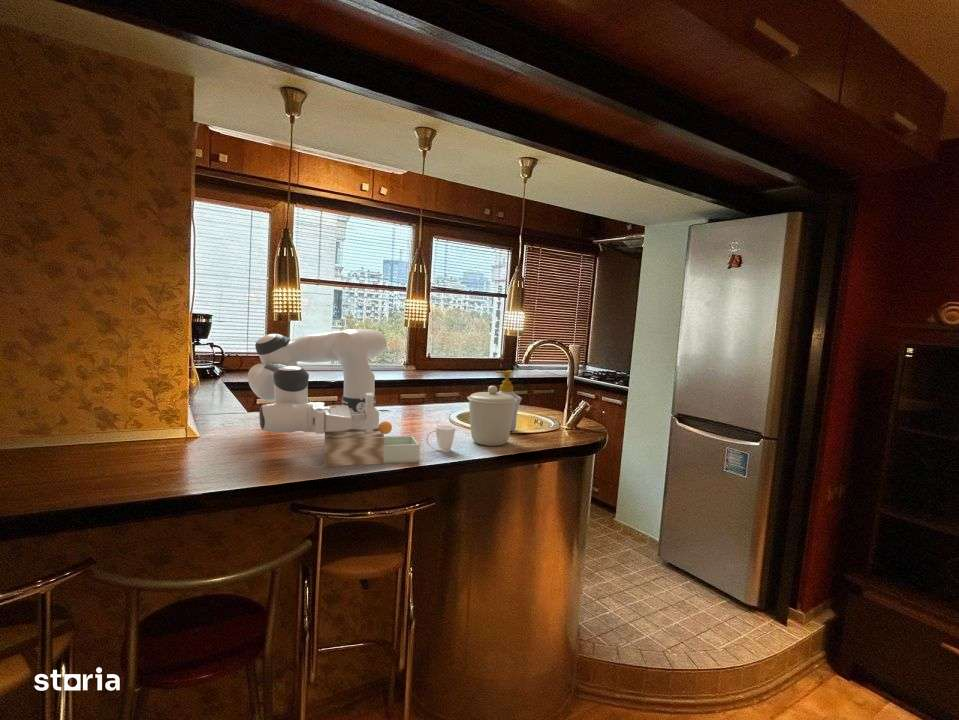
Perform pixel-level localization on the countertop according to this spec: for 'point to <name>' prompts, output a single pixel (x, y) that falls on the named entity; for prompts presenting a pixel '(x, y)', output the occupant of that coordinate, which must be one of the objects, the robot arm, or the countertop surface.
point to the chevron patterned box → (353, 447)
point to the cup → (443, 437)
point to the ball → (385, 427)
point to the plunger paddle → (369, 412)
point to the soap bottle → (508, 389)
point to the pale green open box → (400, 449)
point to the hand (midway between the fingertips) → (365, 416)
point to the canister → (491, 416)
